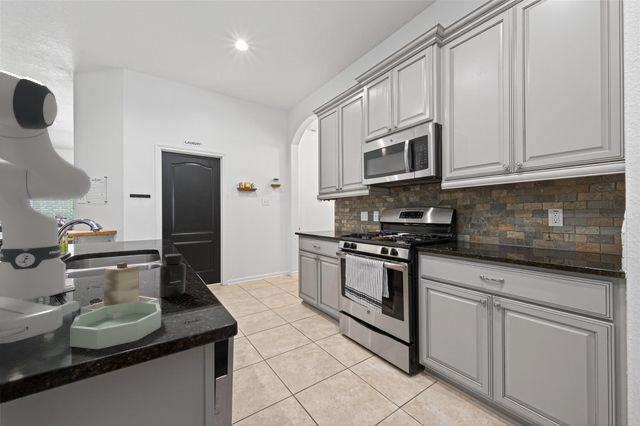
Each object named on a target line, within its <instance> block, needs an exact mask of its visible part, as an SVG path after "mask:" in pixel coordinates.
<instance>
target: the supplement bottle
mask: <svg viewBox="0 0 640 426" xmlns="http://www.w3.org/2000/svg"><path fill="white" fill-rule="evenodd" d="M182 261H183V254H181V253H168V254H164V256H163V263H162V264H161V266H160V267H159V280H158V281H159V282H158V283H159V284H158V285H159V286H158V295H159V296H160V297H161V298H165V299H166V298H176V297H180V296H182V295H184V293H185V292H186V264H185V263H183V262H182Z"/></svg>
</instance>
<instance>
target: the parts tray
mask: <svg viewBox="0 0 640 426" xmlns="http://www.w3.org/2000/svg"><path fill="white" fill-rule="evenodd" d="M139 302H151V303H159V304H160V299H159V298H157V297H150V296H143V295H139ZM101 307H104V300H103V301H100V302H97V303H94V304H90V305H87V306H86V305H85V306H82V307H80V315H82V314H85V313H87V312H90V311H93V310H96V309H99V308H101ZM123 315H124V311H119V312H116V313H109V318H113V319H114V318H117V317H120V316H123Z"/></svg>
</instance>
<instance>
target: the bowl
mask: <svg viewBox="0 0 640 426" xmlns="http://www.w3.org/2000/svg"><path fill="white" fill-rule="evenodd" d="M119 311H124V315H123V316H120V317H117V318H114V319H113V318H109V313H116V312H119ZM73 319H74V320H73V321H72V323H71V325H70V327H69V328H70V329H69V346H70V347H75V348H83V349H91V350H92V349H94V350H101V349H104V348H109V347H114V346H118V345H124V344H126V343H127V344H128V343H133V342H137V341H139V340H140V339H143V338H144V337H146V336H147V335H150V334H151V333H153V332H154V331H157V330H159V329H160V328H162V310H161V306H160V302H159V303H151V302H138V301H136V302H129V303H123V304H117V305H110V306H104V307H101V308H99V309H96V310H93V311H90V312H87V313H85V314H82V315H81V314H80V315H76V316H75V318H73Z"/></svg>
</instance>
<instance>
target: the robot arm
mask: <svg viewBox="0 0 640 426" xmlns="http://www.w3.org/2000/svg"><path fill="white" fill-rule="evenodd" d="M57 115H58V104H57V99H56V96H55V94H54V93H53V91H51V90H50V88H49V87H47V85H46V84H43V83H41V82H38V81H37V80H35V79H32V78H30V77H22V76H19V75H17V74H14V73H11V72H8V71H6V70H1V69H0V225H1V234H2V247H1V248H0V262H1V263H0V344H8V343H15V342H17V341H22V340H25V339H29V338H32V337H36V336H39V335H43V334H46V333H51V332H53V331H55V330H58V329H59V328H61V327H62V326H63V320H64V319H63V317H65V316H66V315H69V314H70V313H73V312H77V311H79V310H80V302H79V301H76V300H70V301H66V302H63V304H61V305H59V306H58V305H50V303H51V302H50V300H51V296H54V295H55V296H56V295H58V294H62V293H65V292H69V291H70V292H71V291H73V290H75V289H76V286H75V283H74V282H73V280H72V278H70V277H69V276H70V275H69V274H68V273H67V274H66V267H67V264H66V263H65V262H63V261H62V259H61V253H62V250H61V245H59V222H58V220H57V218H55V217H54V216H52V215H51V214H48V213H46V212H43V211H41V210H37V209H35V208H34V207H33V206H32V204H31V201H33V200H34V201H36V200H37V201H70V200H77V199H82V198H84V197H85V196H86V195H87V194H88V193H89V192H90V189H91V185H92V184H91V183H92V182H91V179H90V176H89V175H88V173H87V172H86V171H85V170H84V169H82V168H80V167H78V166H76V165H74V164H72V163H70V162H69V161H67V160H66V159H65V158H63V157H62V156H61V155H59V153H58V152H57V151H56V149H55V147H54V146H53V143H52V141H51V138H50V137H51V136H50V133H49V131H48V128H49V127H52V125H53V124H54V123H55V120H56V117H57Z"/></svg>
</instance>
